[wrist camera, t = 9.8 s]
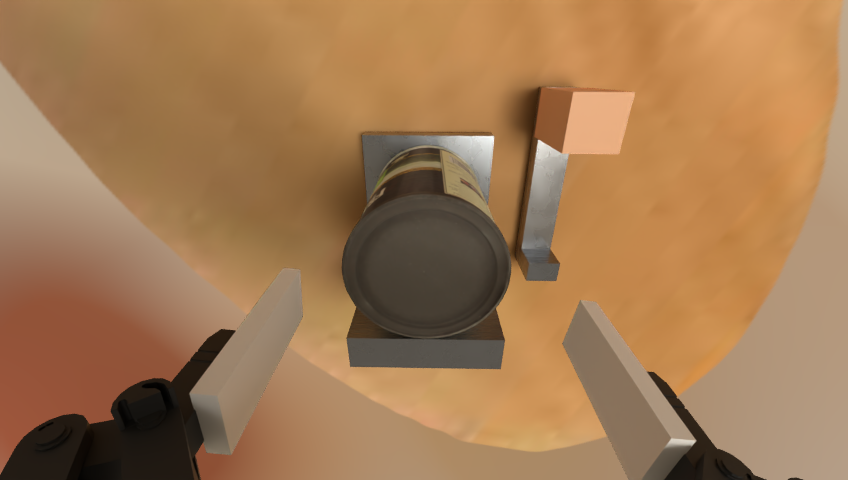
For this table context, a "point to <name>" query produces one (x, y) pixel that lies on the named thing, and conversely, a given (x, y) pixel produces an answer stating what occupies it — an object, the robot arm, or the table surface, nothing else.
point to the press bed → (455, 351)
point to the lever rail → (540, 209)
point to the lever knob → (583, 119)
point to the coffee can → (426, 248)
